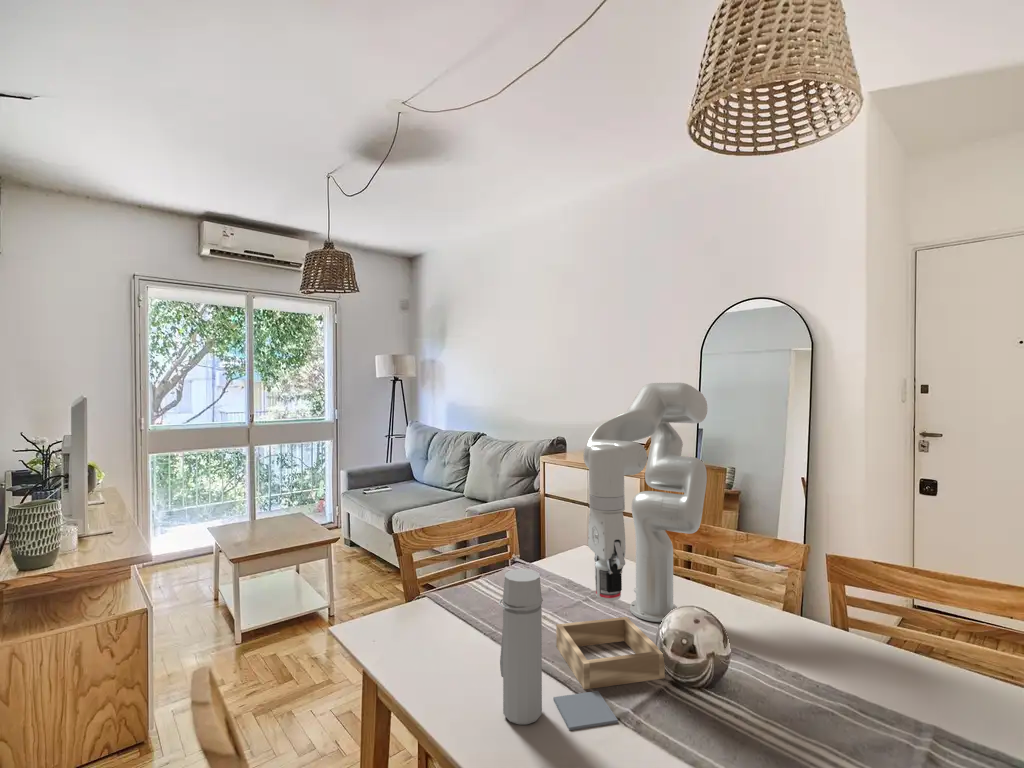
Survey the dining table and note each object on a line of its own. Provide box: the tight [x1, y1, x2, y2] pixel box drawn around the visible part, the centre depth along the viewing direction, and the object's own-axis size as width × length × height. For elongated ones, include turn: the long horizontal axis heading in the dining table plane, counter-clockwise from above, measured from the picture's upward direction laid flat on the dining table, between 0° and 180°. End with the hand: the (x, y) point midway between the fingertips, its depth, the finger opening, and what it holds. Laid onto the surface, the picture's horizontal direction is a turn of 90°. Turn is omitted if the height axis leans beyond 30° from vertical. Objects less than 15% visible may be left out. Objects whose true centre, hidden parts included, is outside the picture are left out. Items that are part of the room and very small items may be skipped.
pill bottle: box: [594, 555, 622, 602], centre depth 112 cm, size 5×5×10 cm
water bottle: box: [498, 568, 544, 725], centre depth 94 cm, size 9×8×25 cm
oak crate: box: [555, 616, 666, 690], centre depth 111 cm, size 17×17×5 cm
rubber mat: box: [553, 690, 619, 731], centre depth 94 cm, size 9×9×1 cm
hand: (608, 584), depth 112 cm, fingers closed on pill bottle, 5 cm apart
